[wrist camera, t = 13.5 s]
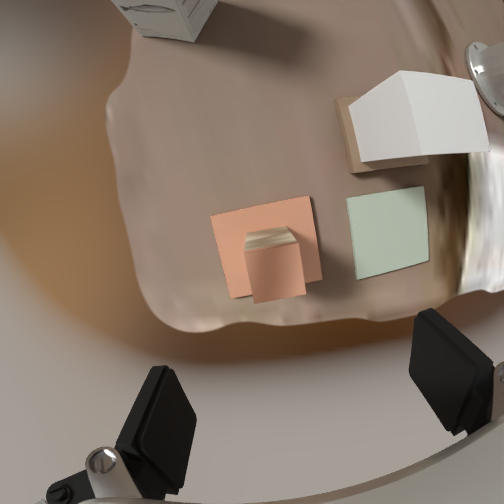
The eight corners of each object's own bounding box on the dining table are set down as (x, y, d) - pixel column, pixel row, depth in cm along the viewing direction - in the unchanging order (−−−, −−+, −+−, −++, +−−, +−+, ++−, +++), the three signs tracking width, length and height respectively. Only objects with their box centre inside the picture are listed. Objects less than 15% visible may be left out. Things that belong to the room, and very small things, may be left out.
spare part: (285, 225, 27) (298, 243, 20) (291, 263, 28) (306, 294, 21) (246, 233, 27) (243, 253, 20) (253, 270, 28) (254, 303, 21)
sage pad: (420, 185, 27) (423, 186, 26) (426, 259, 29) (428, 260, 28) (345, 198, 27) (347, 198, 27) (355, 277, 29) (357, 279, 29)
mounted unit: (409, 98, 24) (475, 71, 12) (424, 164, 26) (498, 163, 14) (333, 101, 25) (383, 56, 13) (350, 173, 26) (412, 171, 15)
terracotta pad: (307, 195, 27) (309, 195, 27) (321, 277, 29) (322, 279, 29) (211, 215, 28) (210, 216, 27) (231, 296, 30) (231, 298, 29)
